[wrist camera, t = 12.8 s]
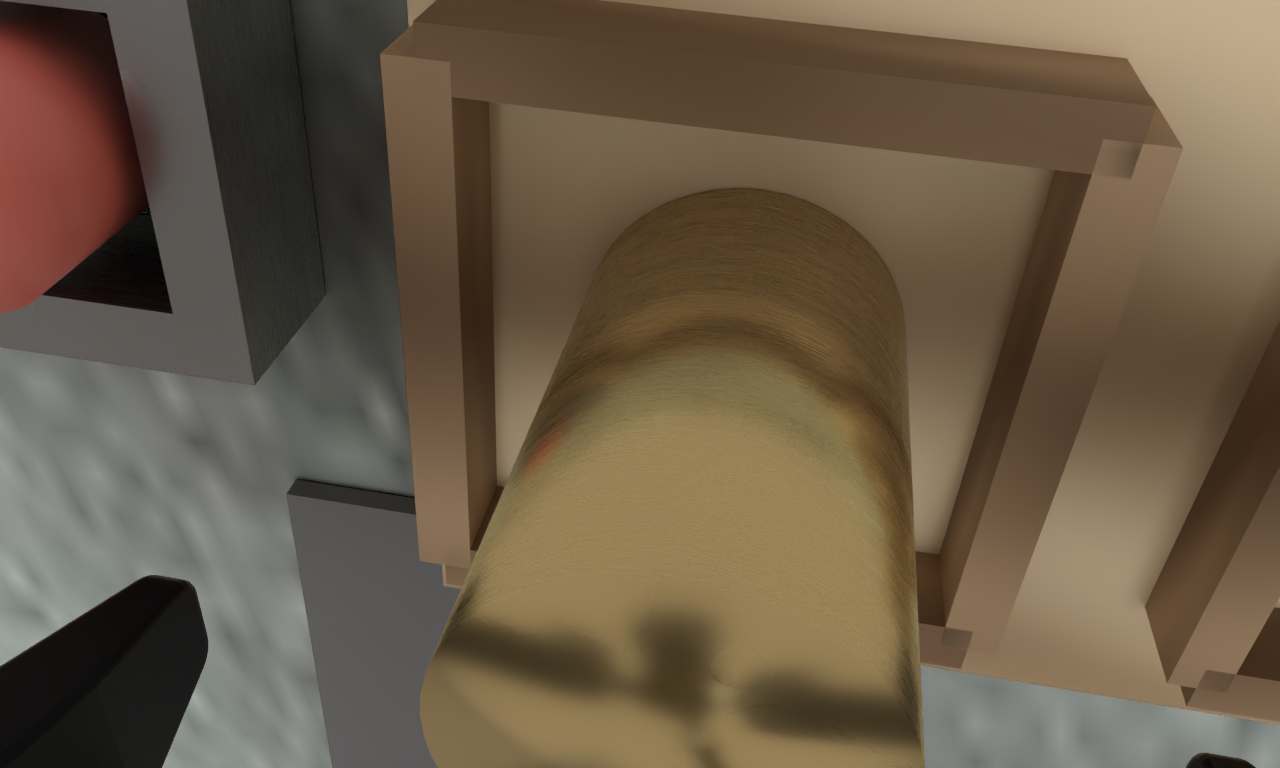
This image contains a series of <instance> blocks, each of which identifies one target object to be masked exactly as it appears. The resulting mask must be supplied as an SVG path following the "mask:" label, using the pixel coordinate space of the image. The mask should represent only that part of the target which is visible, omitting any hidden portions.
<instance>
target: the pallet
mask: <svg viewBox="0 0 1280 768" xmlns="http://www.w3.org/2000/svg"><path fill="white" fill-rule="evenodd" d="M407 9H408V25H409V28H408V29H407V30H406V31H405V32H403V33H402V34H401V35H400V36H399V37H398V38H397V39H396V40H395V41H394V42H392V43H391V44H390V45H389V46H388V47H387V48H386V49H385V50H384V51H383V52H381V53H380V61H381V74H382V86H383V99H384V112H385V125H386V137H387V150H388V163H389V176H390V188H391V201H392V214H393V227H394V239H395V252H396V265H397V278H398V290H399V303H400V316H401V329H402V341H403V354H404V367H405V380H406V392H407V405H408V418H409V431H410V443H411V456H412V469H413V482H414V494H415V507H416V520H417V533H418V545H419V558H420V561H423V562H429V563H435V564H442V572H443V586H447V587H453V588H459V589H461V588H462V586H463V584H464V581H465V579H466V577H467V574H468V572H469V570H470V567H471V565H472V562H473V560H474V558H475V555H476V553H477V551H478V548H479V546H480V544H481V541H482V539H483V537H484V534H485V532H486V530H487V527H488V525H489V522H490V520H491V518H492V515H493V513H494V511H495V508H496V506H497V504H498V501H499V499H500V497H501V494H502V492H503V490H504V487H505V485H506V482H507V480H508V478H509V475H510V473H511V471H512V468H513V466H514V464H515V461H516V459H517V457H518V454H519V452H520V449H521V447H522V445H523V442H524V440H525V438H526V435H527V433H528V431H529V428H530V426H531V424H532V421H533V419H534V417H535V414H536V412H537V409H538V407H539V405H540V402H541V400H542V398H543V395H544V393H545V391H546V388H547V386H548V384H549V381H550V379H551V377H552V374H553V372H554V369H555V367H556V365H557V362H558V360H559V358H560V355H561V353H562V351H563V348H564V346H565V344H566V341H567V339H568V337H569V334H570V332H571V329H572V327H573V325H574V322H575V320H576V318H577V315H578V313H579V311H580V308H581V306H582V304H583V301H584V299H585V297H586V294H587V292H588V289H589V287H590V285H591V282H592V280H593V278H594V275H595V273H596V271H597V269H598V267H599V264H600V262H601V260H602V259H603V257H604V256H605V254H606V253H607V251H608V250H609V248H610V247H611V245H612V244H613V243H614V242H615V241H616V239H617V238H618V237H619V236H620V235H621V234H622V233H623V232H624V231H625V230H626V229H627V228H628V227H629V226H631V225H632V224H633V223H634V222H635V221H637V220H638V219H639V218H641V217H642V216H644V215H645V214H647V213H649V212H650V211H652V210H653V209H655V208H657V207H659V206H661V205H663V204H665V203H668V202H670V201H672V200H674V199H677V198H680V197H684V196H687V195H690V194H694V193H697V192H703V191H709V190H715V189H729V188H748V189H761V190H767V191H772V192H777V193H782V194H787V195H790V196H793V197H796V198H799V199H802V200H805V201H808V202H810V203H812V204H814V205H816V206H818V207H821V208H823V209H825V210H827V211H829V212H830V213H832V214H833V215H835V216H837V217H838V218H840V219H841V220H843V221H844V222H846V223H847V224H848V225H850V226H851V227H852V228H853V229H854V230H856V231H857V232H858V233H859V234H860V235H862V236H863V237H864V238H865V240H866V241H867V242H868V243H869V244H870V245H871V246H872V247H873V248H874V249H875V250H876V251H877V253H878V254H879V256H880V257H881V259H882V260H883V262H884V263H885V265H886V266H887V267H888V269H889V271H890V273H891V275H892V277H893V279H894V281H895V283H896V285H897V288H898V291H899V294H900V297H901V301H902V304H903V310H904V316H905V323H906V346H907V370H908V393H909V416H910V439H911V463H912V486H913V509H914V532H915V556H916V579H917V602H918V625H919V649H920V665H923V666H929V667H935V668H941V669H947V670H953V671H959V672H965V673H971V674H977V675H983V676H989V677H995V678H1001V679H1007V680H1013V681H1019V682H1025V683H1031V684H1037V685H1044V686H1050V687H1056V688H1062V689H1068V690H1074V691H1080V692H1086V693H1092V694H1098V695H1104V696H1110V697H1116V698H1122V699H1128V700H1134V701H1140V702H1146V703H1152V704H1158V705H1164V706H1170V707H1176V708H1182V709H1188V710H1194V711H1200V712H1206V713H1212V714H1218V715H1224V716H1230V717H1236V718H1242V719H1248V720H1254V721H1260V722H1266V723H1272V724H1278V725H1280V0H407Z"/></svg>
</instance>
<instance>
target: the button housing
mask: <svg viewBox="0 0 1280 768" xmlns="http://www.w3.org/2000/svg"><path fill="white" fill-rule="evenodd" d="M0 1H8V2H16V3H25V4H33V5H42V6H51V7H59V8H68V9H76V10H85V11H93V12H102V13H107V16H108V21H109V25H110V30H111V34H112V39H113V44H114V48H115V53H116V57H117V62H118V66H119V71H120V75H121V80H122V84H123V89H124V94H125V98H126V103H127V107H128V112H129V116H130V121H131V125H132V130H133V134H134V139H135V144H136V148H137V153H138V157H139V162H140V166H141V171H142V175H143V180H144V184H145V189H146V194H147V198H148V203H149V207H150V212H151V216H150V215H142V214H139V215H138V216H137V217H135V218H134V219H133V220H132V221H131V222H129V223H128V224H127V225H126V226H125V227H123V228H122V229H121V230H120V231H118V232H117V233H116V234H115V235H114V236H112V237H111V238H110V239H109V240H108V241H106V242H105V243H104V244H103V245H102V246H100V247H99V248H98V249H97V250H95V251H94V252H93V253H92V254H91V255H89V256H88V257H87V258H86V259H85V260H83V261H82V262H81V263H80V264H79V265H77V266H76V267H75V268H74V269H72V270H71V271H70V272H69V273H68V274H66V275H65V276H64V277H63V278H62V279H60V280H59V281H58V282H57V283H56V284H54V285H53V286H52V287H51V288H49V289H48V290H47V291H46V292H45V293H43V294H42V295H41V296H40V297H39V298H37V299H36V300H35V301H33V302H32V303H30V304H28V305H27V306H25V307H23V308H20V309H17V310H14V311H12V312H6V313H1V314H0V347H3V348H10V349H17V350H23V351H30V352H37V353H43V354H50V355H57V356H63V357H70V358H77V359H83V360H90V361H97V362H103V363H110V364H117V365H123V366H130V367H137V368H143V369H150V370H157V371H163V372H170V373H177V374H183V375H190V376H197V377H203V378H210V379H217V380H223V381H230V382H237V383H243V384H250V385H255V384H256V383H257V382H258V380H259V379H260V378H261V376H262V375H263V374H264V373H265V371H266V370H267V369H268V368H269V366H270V365H271V364H272V363H273V361H274V360H275V359H276V357H277V356H278V355H279V354H280V352H281V351H282V350H283V349H284V347H285V346H286V345H287V344H288V342H289V341H290V340H291V338H292V337H293V336H294V335H295V333H296V332H297V331H298V330H299V328H300V327H301V326H302V325H303V323H304V322H305V321H306V319H307V318H308V317H309V316H310V314H311V313H312V312H313V311H314V309H315V308H316V307H317V306H318V304H319V303H320V302H321V300H322V299H323V298H324V297H325V295H326V293H325V285H324V277H323V269H322V261H321V253H320V245H319V236H318V228H317V220H316V212H315V204H314V196H313V188H312V180H311V172H310V164H309V155H308V147H307V139H306V131H305V123H304V115H303V107H302V99H301V91H300V83H299V74H298V66H297V58H296V50H295V42H294V34H293V26H292V18H291V10H290V2H289V0H0Z"/></svg>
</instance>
